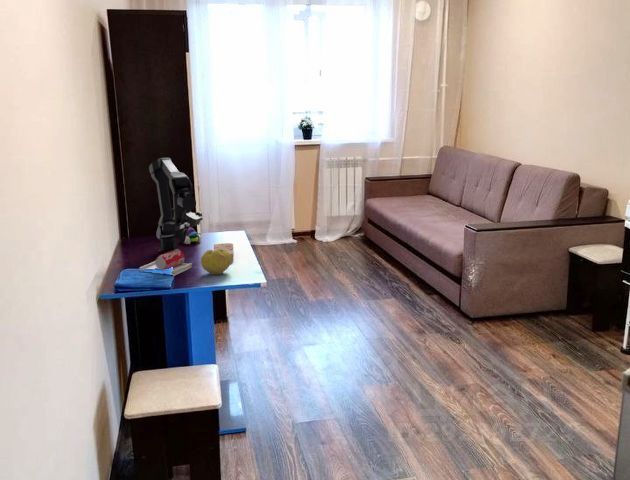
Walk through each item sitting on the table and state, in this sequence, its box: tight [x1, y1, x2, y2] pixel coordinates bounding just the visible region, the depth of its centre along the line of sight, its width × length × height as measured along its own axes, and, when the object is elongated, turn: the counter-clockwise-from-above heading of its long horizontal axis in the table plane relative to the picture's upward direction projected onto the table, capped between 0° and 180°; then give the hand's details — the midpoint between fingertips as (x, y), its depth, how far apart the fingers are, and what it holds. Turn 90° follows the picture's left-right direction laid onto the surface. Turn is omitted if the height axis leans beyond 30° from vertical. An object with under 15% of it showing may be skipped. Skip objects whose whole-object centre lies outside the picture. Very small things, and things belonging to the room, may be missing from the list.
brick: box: [213, 242, 235, 264], centre depth 254 cm, size 17×8×5 cm, turn 8°
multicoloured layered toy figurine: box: [183, 227, 203, 245], centre depth 279 cm, size 8×10×7 cm
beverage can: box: [154, 248, 185, 270], centre depth 238 cm, size 6×6×12 cm
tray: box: [138, 260, 194, 277], centre depth 237 cm, size 16×13×2 cm
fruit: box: [200, 249, 232, 276], centre depth 230 cm, size 11×12×10 cm
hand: (182, 243), depth 247 cm, fingers closed
